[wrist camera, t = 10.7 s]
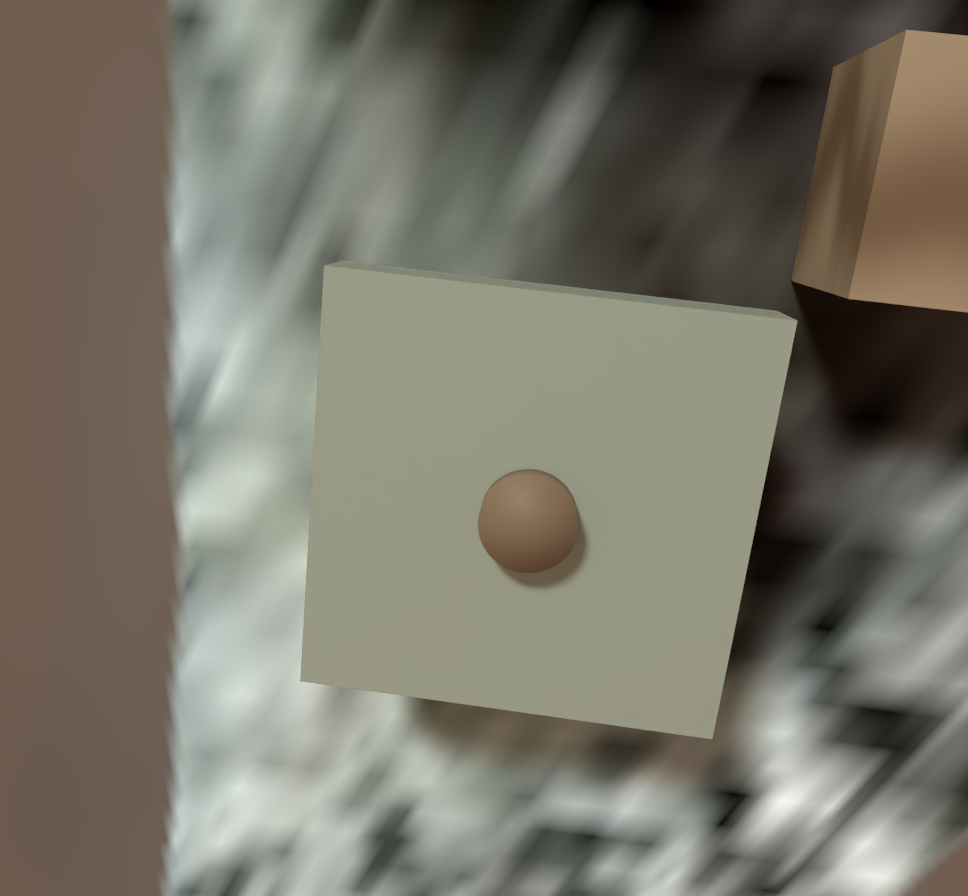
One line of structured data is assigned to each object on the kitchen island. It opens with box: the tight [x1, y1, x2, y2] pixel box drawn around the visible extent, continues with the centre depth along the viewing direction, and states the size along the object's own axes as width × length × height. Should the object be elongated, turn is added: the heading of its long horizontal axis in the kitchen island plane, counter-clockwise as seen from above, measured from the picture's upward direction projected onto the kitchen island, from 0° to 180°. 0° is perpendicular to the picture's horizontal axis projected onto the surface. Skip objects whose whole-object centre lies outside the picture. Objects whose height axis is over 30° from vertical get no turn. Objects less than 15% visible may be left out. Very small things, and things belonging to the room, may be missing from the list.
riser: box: [791, 30, 968, 313], centre depth 23 cm, size 6×6×6 cm
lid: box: [300, 261, 797, 739], centre depth 23 cm, size 11×11×3 cm
